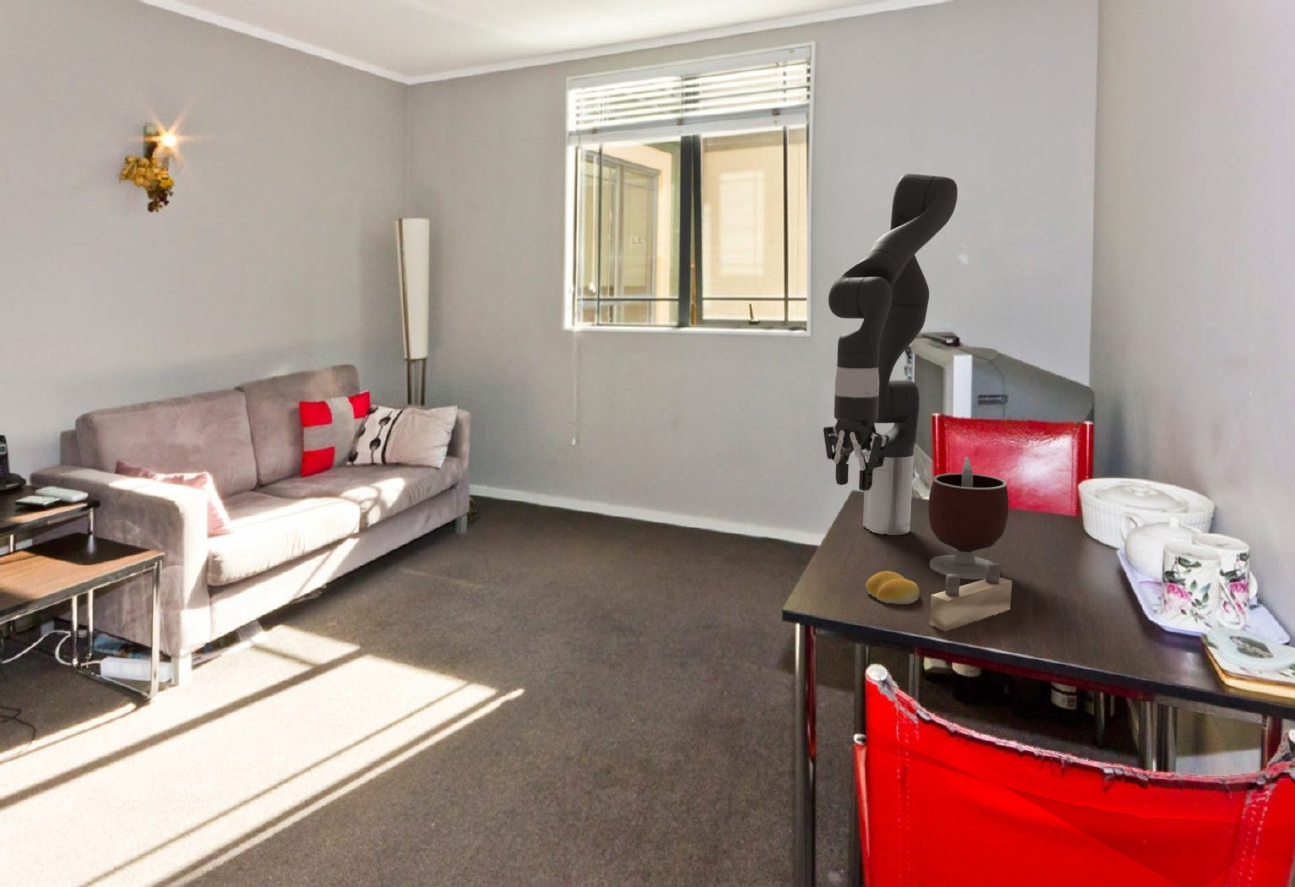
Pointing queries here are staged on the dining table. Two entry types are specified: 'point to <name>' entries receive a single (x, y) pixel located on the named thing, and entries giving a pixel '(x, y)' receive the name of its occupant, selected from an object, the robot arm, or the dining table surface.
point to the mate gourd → (967, 519)
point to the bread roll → (892, 588)
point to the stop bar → (970, 599)
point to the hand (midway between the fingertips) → (853, 486)
